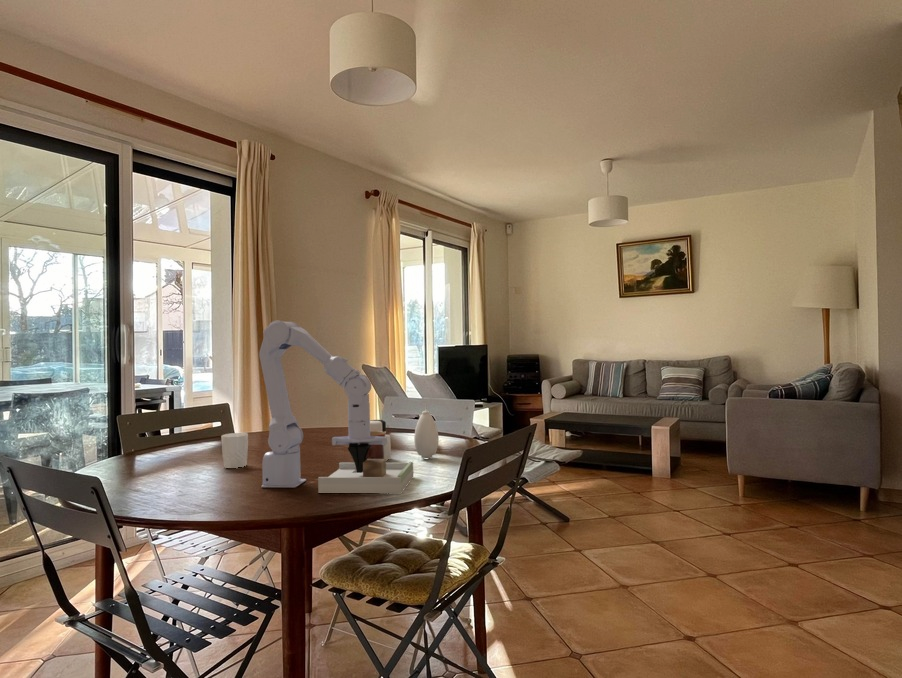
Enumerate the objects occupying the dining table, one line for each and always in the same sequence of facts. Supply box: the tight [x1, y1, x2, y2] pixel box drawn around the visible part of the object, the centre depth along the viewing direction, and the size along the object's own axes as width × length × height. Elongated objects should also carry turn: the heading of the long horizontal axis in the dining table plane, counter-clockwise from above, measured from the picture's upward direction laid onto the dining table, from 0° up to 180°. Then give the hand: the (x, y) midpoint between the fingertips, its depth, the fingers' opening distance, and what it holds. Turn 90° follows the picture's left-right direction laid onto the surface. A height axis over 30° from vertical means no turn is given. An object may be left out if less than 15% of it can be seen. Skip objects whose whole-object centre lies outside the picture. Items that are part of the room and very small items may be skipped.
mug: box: [365, 431, 387, 461], centre depth 170 cm, size 12×9×10 cm
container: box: [370, 419, 392, 462], centre depth 181 cm, size 8×8×13 cm
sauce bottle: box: [413, 403, 440, 459], centre depth 182 cm, size 8×8×18 cm
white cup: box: [220, 432, 249, 469], centre depth 177 cm, size 8×8×10 cm
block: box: [363, 459, 387, 477], centre depth 149 cm, size 5×5×4 cm
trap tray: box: [317, 461, 414, 495], centre depth 149 cm, size 21×18×4 cm
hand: (360, 471), depth 150 cm, fingers closed
